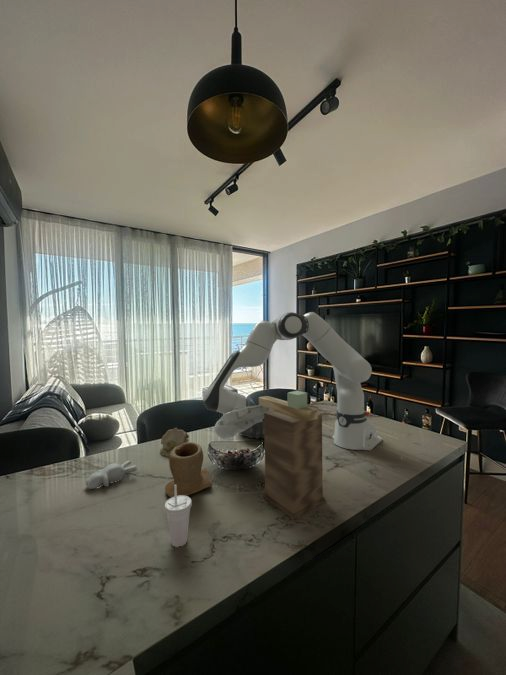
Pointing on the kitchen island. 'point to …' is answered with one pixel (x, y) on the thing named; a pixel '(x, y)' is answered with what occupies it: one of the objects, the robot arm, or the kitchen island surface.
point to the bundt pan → (255, 430)
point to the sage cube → (297, 399)
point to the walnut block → (293, 462)
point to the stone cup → (187, 470)
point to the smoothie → (178, 517)
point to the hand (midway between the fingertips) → (259, 407)
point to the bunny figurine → (109, 474)
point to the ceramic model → (173, 440)
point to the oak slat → (288, 408)
